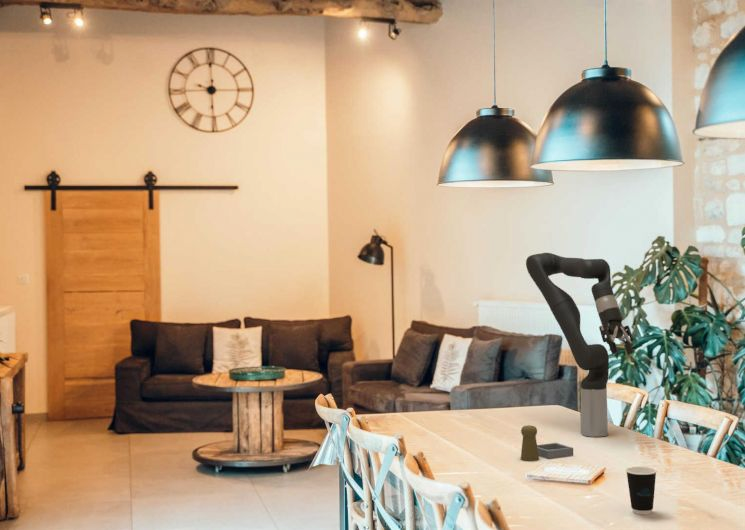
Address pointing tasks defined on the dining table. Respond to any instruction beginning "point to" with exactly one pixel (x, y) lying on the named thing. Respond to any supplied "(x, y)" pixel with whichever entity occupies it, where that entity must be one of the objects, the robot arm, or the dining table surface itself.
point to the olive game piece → (529, 444)
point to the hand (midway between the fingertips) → (623, 353)
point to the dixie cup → (641, 488)
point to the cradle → (554, 450)
